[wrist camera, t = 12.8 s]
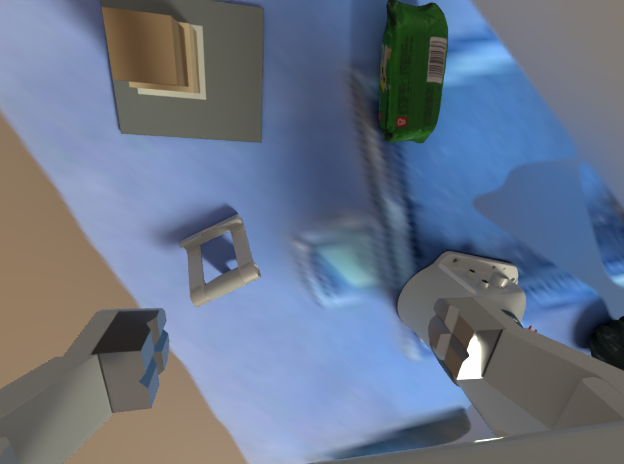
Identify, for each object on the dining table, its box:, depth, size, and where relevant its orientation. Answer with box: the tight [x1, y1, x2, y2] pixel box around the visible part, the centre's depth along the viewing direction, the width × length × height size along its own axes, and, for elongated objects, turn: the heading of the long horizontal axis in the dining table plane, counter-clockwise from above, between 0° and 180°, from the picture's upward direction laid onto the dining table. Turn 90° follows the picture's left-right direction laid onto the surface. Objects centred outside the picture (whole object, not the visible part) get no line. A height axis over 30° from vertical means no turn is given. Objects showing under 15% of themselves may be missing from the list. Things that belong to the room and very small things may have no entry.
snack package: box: [379, 0, 448, 143], centre depth 36 cm, size 7×16×5 cm, turn 3°
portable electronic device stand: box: [179, 214, 261, 307], centre depth 40 cm, size 9×8×8 cm
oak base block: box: [129, 22, 200, 93], centre depth 31 cm, size 6×6×4 cm
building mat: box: [100, 0, 264, 142], centre depth 34 cm, size 16×14×1 cm
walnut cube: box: [101, 7, 189, 87], centre depth 27 cm, size 5×5×5 cm
